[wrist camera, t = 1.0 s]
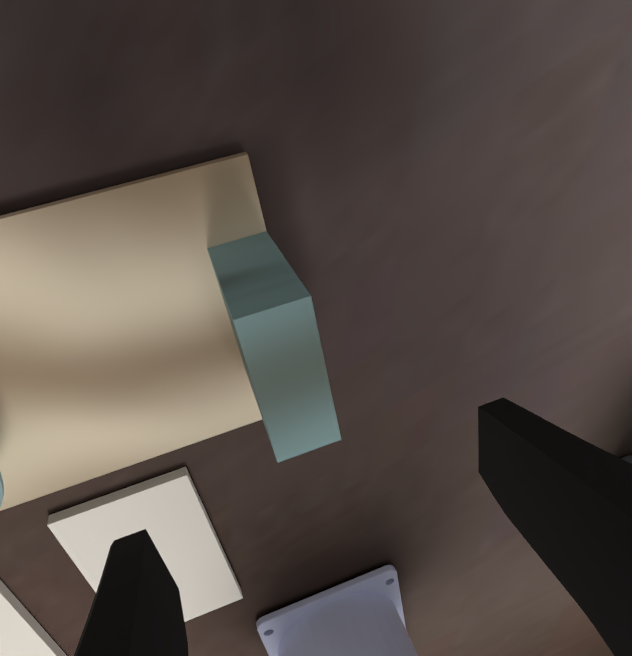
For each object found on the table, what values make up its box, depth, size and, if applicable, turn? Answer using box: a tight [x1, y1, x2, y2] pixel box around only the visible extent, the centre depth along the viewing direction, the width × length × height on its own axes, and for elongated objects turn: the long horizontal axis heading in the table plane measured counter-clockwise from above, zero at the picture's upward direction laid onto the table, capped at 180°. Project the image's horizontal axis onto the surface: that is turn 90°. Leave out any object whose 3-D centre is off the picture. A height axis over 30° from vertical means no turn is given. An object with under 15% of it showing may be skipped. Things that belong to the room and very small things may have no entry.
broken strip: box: [0, 467, 243, 656], centre depth 23 cm, size 9×14×1 cm, turn 101°
